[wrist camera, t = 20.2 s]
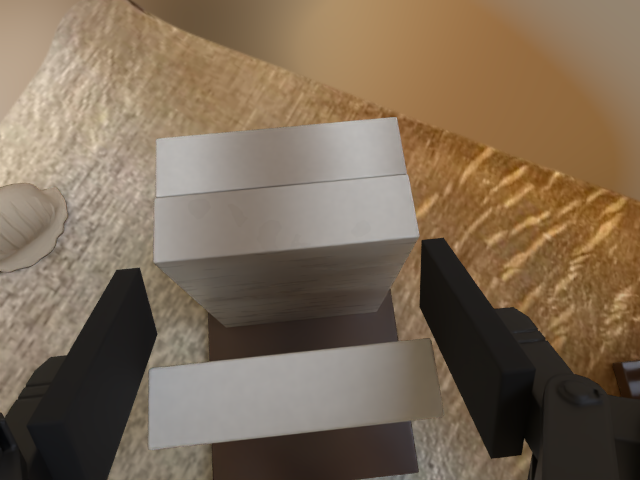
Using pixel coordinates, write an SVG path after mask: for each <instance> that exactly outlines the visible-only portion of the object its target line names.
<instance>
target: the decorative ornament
mask: <svg viewBox="0 0 640 480" xmlns="http://www.w3.org/2000/svg"><path fill="white" fill-rule="evenodd" d="M67 217H68V213H67V206H66V201H65V199H64V197H63V196H62V194H61V193H60V191H59V190H58V189H57V188H56V187H53V188H49V189H45V190H40V189H38V188H37V187H36V186H34V185H33V184H29V183H17V184H11V185H6V186H3V187H0V271H4V272H11V271H14V270H17V269H19V268H25V267H30V266H32V265H34V264H36V263H37V262H38V261H39V260H40V259H41V258H43V257H44V256H46V255H48V254H49V253H50V252H51V251H52V250H53V249H54V247H55V245H56V241H57V237H58V236H59V235H60V234H61V233H63V231H64V227H63V224H64V222H65V220H66V219H67Z"/></svg>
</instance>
